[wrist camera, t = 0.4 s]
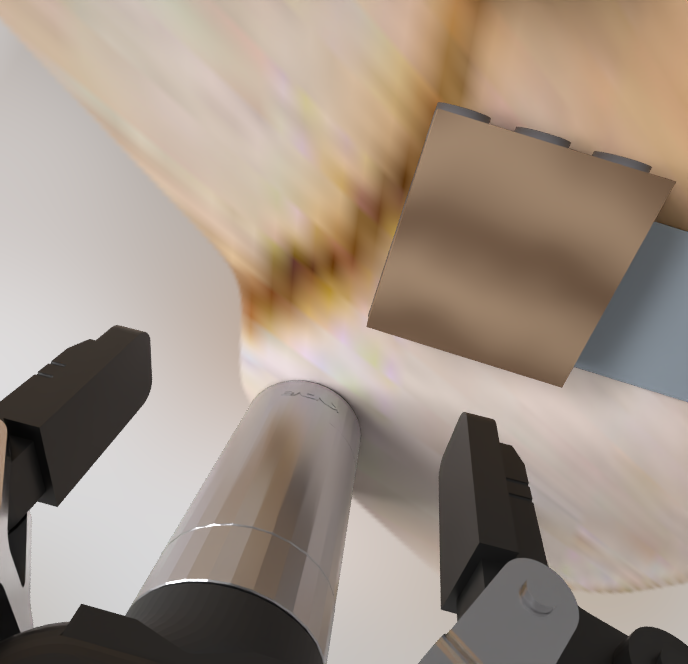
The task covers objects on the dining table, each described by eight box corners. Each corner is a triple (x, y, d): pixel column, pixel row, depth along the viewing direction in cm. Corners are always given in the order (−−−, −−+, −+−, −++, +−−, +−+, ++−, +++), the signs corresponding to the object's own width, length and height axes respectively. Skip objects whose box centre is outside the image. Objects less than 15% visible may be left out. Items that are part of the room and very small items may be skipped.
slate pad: (708, 405, 31) (714, 410, 31) (568, 361, 31) (571, 365, 31) (807, 268, 27) (816, 271, 27) (646, 219, 27) (651, 220, 27)
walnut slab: (536, 359, 32) (558, 394, 27) (369, 307, 32) (364, 334, 27) (635, 166, 26) (681, 171, 22) (436, 104, 26) (442, 97, 22)
